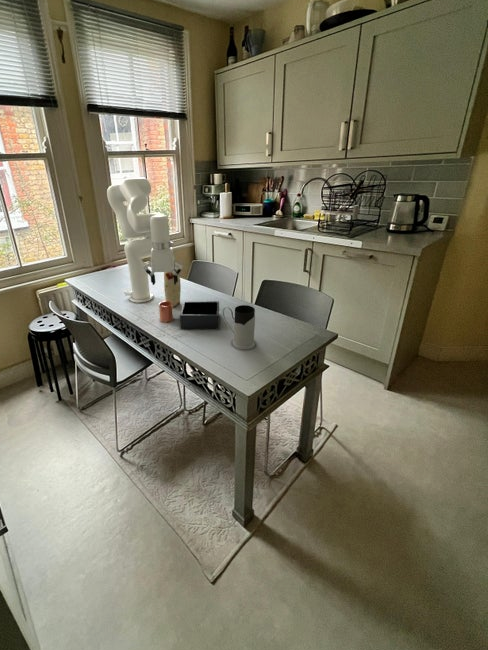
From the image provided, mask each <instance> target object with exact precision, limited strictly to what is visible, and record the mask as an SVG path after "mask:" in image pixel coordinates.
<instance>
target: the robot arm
mask: <svg viewBox="0 0 488 650" xmlns="http://www.w3.org/2000/svg"><path fill="white" fill-rule="evenodd" d="M151 193H152V184H151V182H150V181H149V180H148V179H147V178H146V177H130V178H129V177H128V178H124V179H123V180H122V181H121V182H120V183H115V184H112V185H110V186H109V187H108V188H107V190H106V196H107V201H108V204H109V206H110V208H111V209H112V211H113V212H114V214H115V216H116V220H117V222H118V226H119V229H120V232H121V234H122V237H123V238H124V239H125V240H129V241H127V242H126V243H125V244H124V248H123V249H124V250H123V251H124V254H125V258H126V261H127V267H128V273H129V282H130V288H131V290H124V295H125V296H126V297H127V296H129V301H131V303H139V304H140V303H146V302H149V301H151V300H153V298H154V295H153V293H151V292H150V282H151V284H152V286H154V285H155V284H156V274H155V273H164V272H172V273H173V274H174V284H175V285H176V283H177V282H178V274H180V273H181V272H182V270H183V267H184V264H183V263H181V262H178V261H176V258H175V253H174V249H173V246H174V241H173V242H172V241H171V236H170V235H171V234H170V224H169V223H170V222H169V217H168V216H167V215H165V214H162V213H161V212H149V213H142V214H141V213H140V212H141V211H143V210H144V209H145V208H146V207H147V205H148V202H149V201H148V197H149V196H150V194H151ZM126 202H127V204H128V205H127V204H125V203H126ZM138 213H140V214H138ZM145 258H150V262H147V263H145V262H144V261H143V259H145ZM149 267H150V269H149ZM175 267H178V270H176V269H175ZM149 277H150V281H149Z"/></svg>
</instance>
